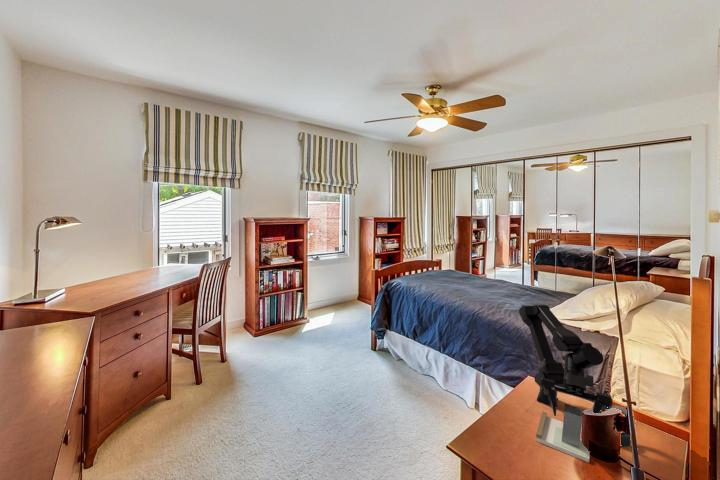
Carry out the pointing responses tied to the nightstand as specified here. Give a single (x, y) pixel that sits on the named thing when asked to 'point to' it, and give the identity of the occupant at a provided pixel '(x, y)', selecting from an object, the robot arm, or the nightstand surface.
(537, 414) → the nightstand surface
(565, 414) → the block
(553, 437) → the door panel
